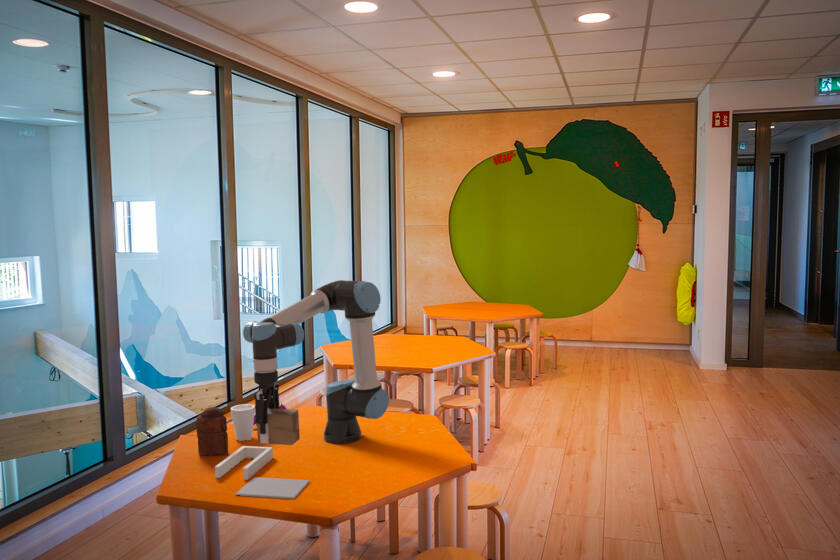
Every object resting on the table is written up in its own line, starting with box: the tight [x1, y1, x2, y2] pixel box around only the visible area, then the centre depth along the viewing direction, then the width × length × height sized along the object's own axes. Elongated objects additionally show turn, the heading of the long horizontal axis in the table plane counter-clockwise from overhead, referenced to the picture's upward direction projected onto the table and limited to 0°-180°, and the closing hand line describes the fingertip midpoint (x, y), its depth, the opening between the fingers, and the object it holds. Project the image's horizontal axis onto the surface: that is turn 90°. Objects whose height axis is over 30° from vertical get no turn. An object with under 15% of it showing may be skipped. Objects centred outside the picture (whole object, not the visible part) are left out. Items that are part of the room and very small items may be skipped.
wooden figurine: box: [195, 406, 229, 456], centre depth 260 cm, size 12×6×18 cm, turn 96°
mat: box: [235, 476, 311, 500], centre depth 225 cm, size 20×14×1 cm
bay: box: [214, 445, 274, 481], centre depth 245 cm, size 12×22×4 cm, turn 169°
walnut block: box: [256, 408, 300, 446], centre depth 223 cm, size 6×12×10 cm, turn 77°
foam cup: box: [230, 403, 255, 442], centre depth 277 cm, size 10×9×13 cm
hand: (269, 439), depth 224 cm, fingers closed on walnut block, 6 cm apart
